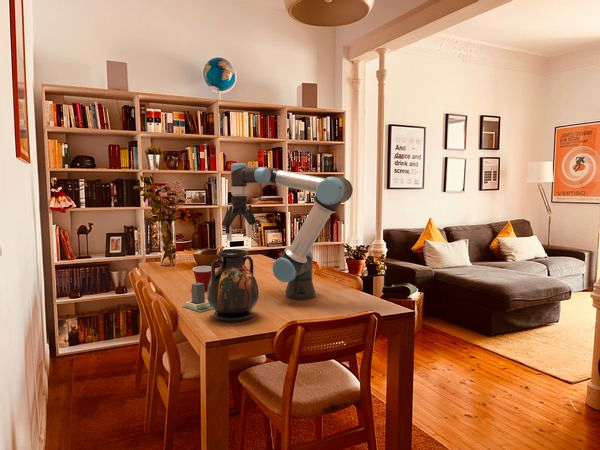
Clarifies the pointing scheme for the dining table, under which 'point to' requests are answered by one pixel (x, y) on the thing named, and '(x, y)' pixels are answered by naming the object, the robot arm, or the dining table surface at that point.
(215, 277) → the amphora vase
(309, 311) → the dining table surface
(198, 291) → the dark grey rectangular block
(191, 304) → the board
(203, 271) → the plastic cup
